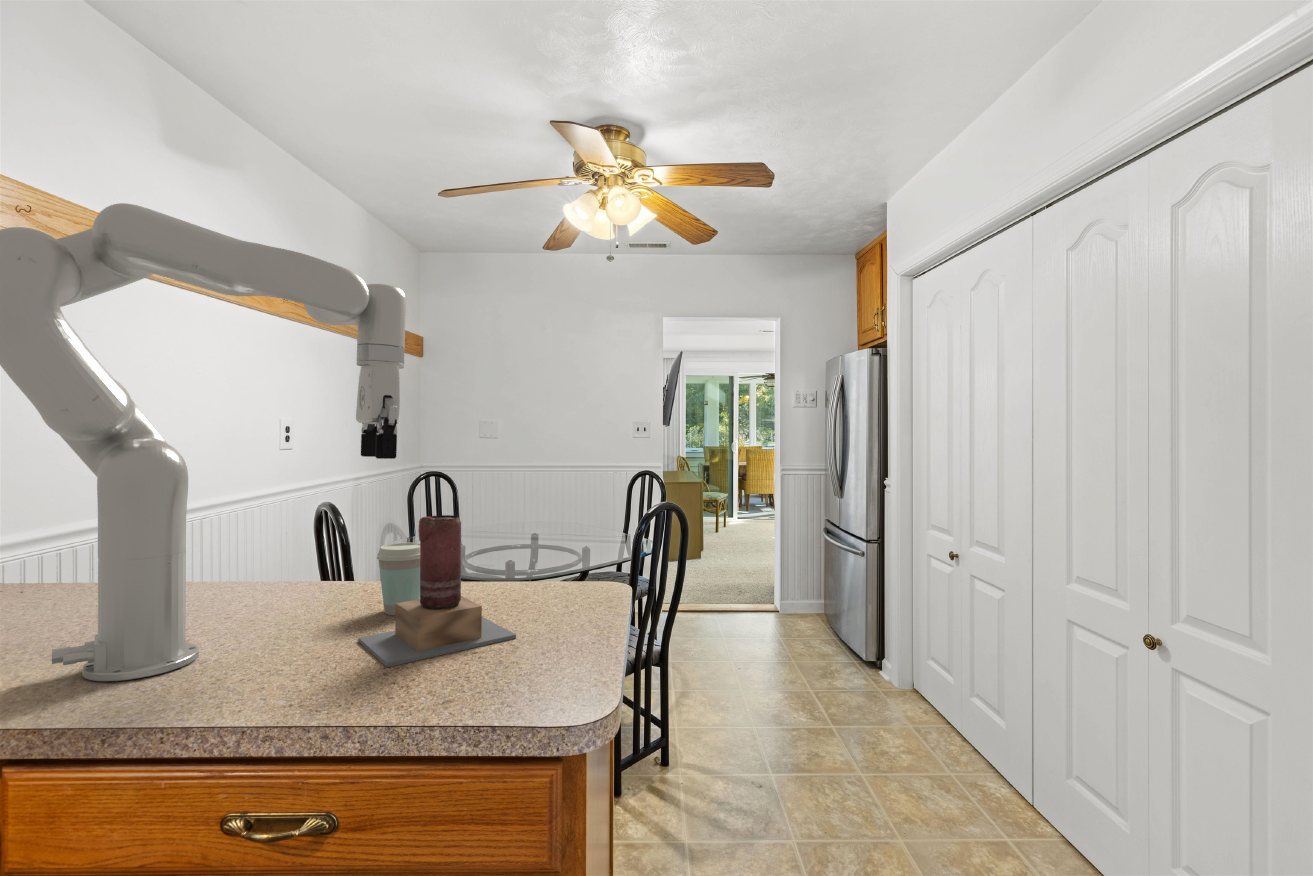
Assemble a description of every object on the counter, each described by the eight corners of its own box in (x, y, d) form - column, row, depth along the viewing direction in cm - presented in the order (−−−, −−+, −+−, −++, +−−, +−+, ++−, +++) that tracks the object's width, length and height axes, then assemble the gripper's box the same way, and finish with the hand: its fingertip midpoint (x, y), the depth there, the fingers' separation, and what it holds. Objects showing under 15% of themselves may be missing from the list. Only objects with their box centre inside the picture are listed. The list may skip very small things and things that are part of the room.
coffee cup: (434, 605, 119) (434, 542, 119) (412, 618, 111) (412, 551, 111) (391, 603, 120) (391, 541, 120) (366, 616, 112) (367, 549, 112)
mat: (387, 667, 88) (387, 662, 88) (358, 641, 99) (358, 637, 98) (516, 638, 101) (516, 634, 101) (478, 618, 112) (478, 614, 112)
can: (416, 602, 101) (417, 515, 101) (458, 598, 104) (458, 513, 104) (419, 611, 95) (420, 519, 95) (462, 607, 98) (463, 517, 98)
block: (417, 651, 93) (418, 617, 93) (395, 634, 100) (395, 603, 100) (481, 637, 99) (481, 606, 99) (455, 622, 107) (455, 593, 107)
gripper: (345, 360, 112) (342, 455, 112) (370, 350, 99) (367, 459, 99) (389, 364, 117) (386, 456, 117) (419, 355, 103) (416, 459, 103)
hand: (377, 457), depth 108 cm, fingers open, 9 cm apart
